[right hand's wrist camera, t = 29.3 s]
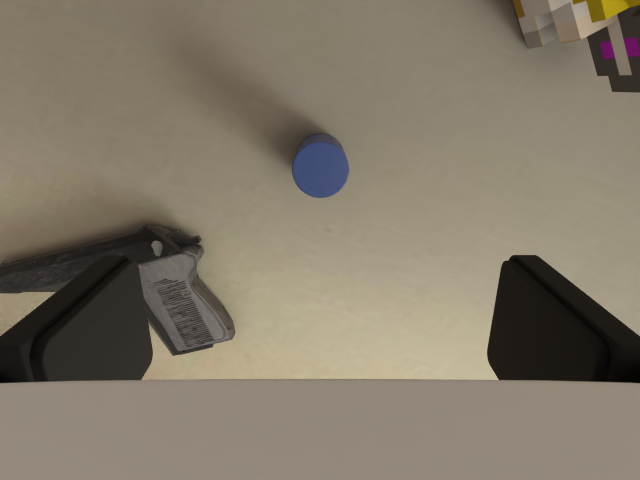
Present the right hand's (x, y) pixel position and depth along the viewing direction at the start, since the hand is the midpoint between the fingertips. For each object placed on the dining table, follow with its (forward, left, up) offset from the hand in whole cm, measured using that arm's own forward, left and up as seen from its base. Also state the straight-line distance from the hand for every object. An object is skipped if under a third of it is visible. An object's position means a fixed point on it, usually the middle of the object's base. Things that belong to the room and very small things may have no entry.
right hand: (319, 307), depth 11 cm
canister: (0, 0, -23) cm, 23 cm away
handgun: (+21, -4, -23) cm, 31 cm away
